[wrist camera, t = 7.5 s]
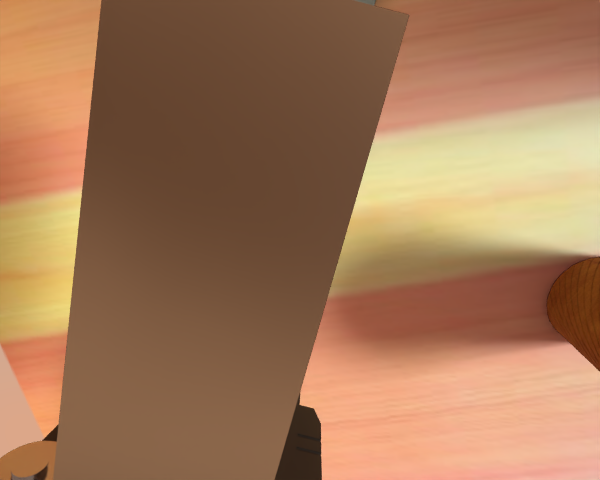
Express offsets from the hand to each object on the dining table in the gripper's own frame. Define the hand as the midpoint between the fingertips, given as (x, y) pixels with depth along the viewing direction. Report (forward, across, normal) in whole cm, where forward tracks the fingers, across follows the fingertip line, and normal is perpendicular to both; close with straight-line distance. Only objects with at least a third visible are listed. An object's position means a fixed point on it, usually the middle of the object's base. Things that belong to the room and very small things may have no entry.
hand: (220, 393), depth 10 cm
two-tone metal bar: (0, 0, 0) cm, 0 cm away
